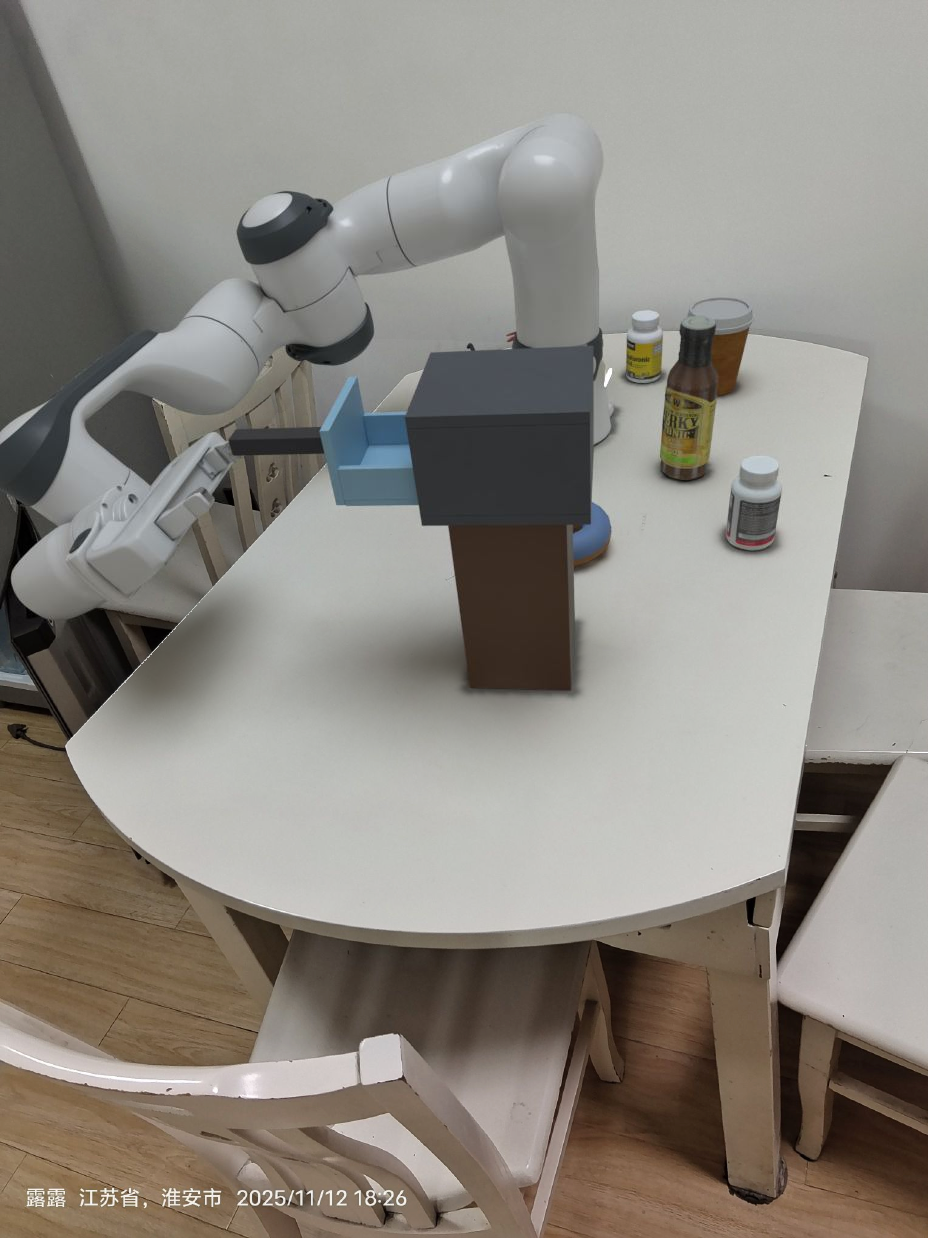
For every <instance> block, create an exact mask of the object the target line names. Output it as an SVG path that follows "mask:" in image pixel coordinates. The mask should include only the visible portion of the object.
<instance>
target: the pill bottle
mask: <svg viewBox="0 0 928 1238" xmlns="http://www.w3.org/2000/svg"><path fill="white" fill-rule="evenodd" d="M779 470H780V465H779V462H778V461H777V460H776V459H774V458H773V457H770V456H766V455H752V456H748V457H746V458H744V459H743V460H742V461H741V462H740V467H739V473H738V474H739V475H738V476H736V477H735V478H734V479H733V480H732V483H731V486H730V494H729V503H728V510H727V512H728V513H727V520H726V529H725V537H726V540H727V542H728V543H729V544H731V545H732V546H733V547H736V548H738V549H740V550H746V551H759V550H764V549H766V548H768V547H770V546H771V545H772V544H773V542H775V541H774V540H775V536H776V530H777V524H778V517H779V512H780V504H781V500H782V499H781V498H782V494H783V493H782V492H783V486H782V483H781V481H780V479H778V476H779Z"/></svg>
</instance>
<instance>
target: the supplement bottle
mask: <svg viewBox="0 0 928 1238" xmlns="http://www.w3.org/2000/svg"><path fill="white" fill-rule="evenodd" d="M659 324H660V314H659V312H657V311H656V310H649V309H648V310H644V309H643V310H638V311H636V312H634V313H632V315H631V328H629V329H628V330H627V333H626V351H625V353H626V354H625V355H626V356H625V376H626V378H627V380H628V381H631V382H633V383H637V384H649V383H653V382H655V381H657V380H658V379H659V378H660V377H661V375H662V363H663V344H664V343H663V341H664V332H663V329H662V328H661V327H660V326H659Z"/></svg>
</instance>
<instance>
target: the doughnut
mask: <svg viewBox="0 0 928 1238" xmlns="http://www.w3.org/2000/svg"><path fill="white" fill-rule="evenodd" d="M573 530H577V531H576V532H573V557H574V567H575V566H581V565H583V564H586V563H588V562H591V561H593V560H595V559H596V558H597V557H599V556H600V555H601V554H603V552H604V551H605V550H606V549H607V547H608V546H609V544H610V541H611V537H612V525H611V520H610V516H609V515H608V513H607V512H606V511H605V510H604V509H603V508H602V506H600V505H598V504H597V503H595V502H594V501H592V506H591V524H590V525H573Z"/></svg>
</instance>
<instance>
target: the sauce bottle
mask: <svg viewBox="0 0 928 1238" xmlns="http://www.w3.org/2000/svg"><path fill="white" fill-rule="evenodd" d="M715 331H716V321H715V320H714V319H712V318H710V317H706V316H691V317H687V318H683V319H682V320H681V322H680V325H679V335H680V342H679V352H678V359H677V361H676V362H675V363H674V364H673V366H672V367H671V368H670V370H669V372H668V376H667V380H666V386H665V390H664V392H665V393H664V403H663V413H662V421H661V422H662V423H661V436H660V449H659V456H660V457H659V458H660V470H661V471H662V472H663V474H665V475H666V476H668V477H669V478H673V479H677V480H682V481H691V480H694V479H698V478H701V477H702V476H704V475H705V473H706V472H707V470H708V462H709V460H710V456H711V448H712V440H713V439H712V438H713V431H714V424H715V415H716V409H717V401H718V399H717V398H718V396H717V386H718V373H717V371H716V368H715V366H714V365H713V364H712V362H711V357H712V343H713V337H714V335H715Z"/></svg>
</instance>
